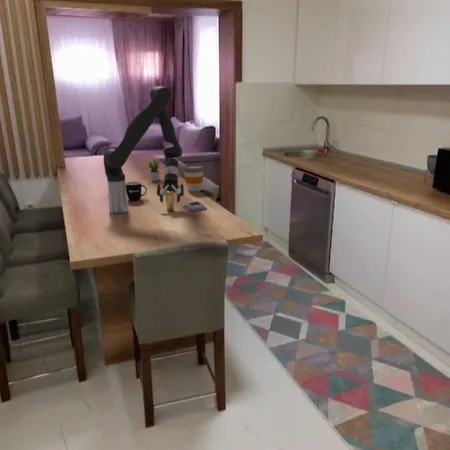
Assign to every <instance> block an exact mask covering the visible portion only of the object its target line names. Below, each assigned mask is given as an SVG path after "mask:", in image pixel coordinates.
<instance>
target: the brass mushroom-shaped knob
mask: <svg viewBox="0 0 450 450" xmlns="http://www.w3.org/2000/svg"><path fill="white" fill-rule="evenodd" d="M165 193H166V194H165V201H166V203H165V204H166V212H169V213H172V212H175V200H174V199H175V198H174V194H175V192H174V191H173V190H167V191H165Z"/></svg>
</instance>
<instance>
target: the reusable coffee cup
mask: <svg viewBox="0 0 450 450" xmlns="http://www.w3.org/2000/svg"><path fill="white" fill-rule="evenodd" d="M204 170H205V169H204V165H202V164H187V165H184V166H183V172H184V181H185V182H184V183H186V184H185V185H186V188H187V191H188V192H200V191H202V187H203V182H204Z"/></svg>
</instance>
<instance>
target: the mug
mask: <svg viewBox="0 0 450 450" xmlns="http://www.w3.org/2000/svg"><path fill="white" fill-rule="evenodd" d="M142 188H144V190H145V192H144V193H143V194H142ZM147 192H148V189H147V187H146V186H145V185H143V184H142V182H141V181H135V180H133V181H127V182H126V193H127V200H129V201H130V202H137V201H138V202H139V201H140V200H141V198H142V197H143V196H145V195H146V194H147Z"/></svg>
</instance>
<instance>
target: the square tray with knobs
mask: <svg viewBox="0 0 450 450" xmlns="http://www.w3.org/2000/svg"><path fill="white" fill-rule="evenodd" d="M182 208H183V209H184V210H186V211H188V212H190V213H192V212H199V211H204V210H207V209H208V207H206V206H205V204H204V203H202V202H201V201H198V200H197V201H191V202H190V201H189V202H185V203H184V205H182Z"/></svg>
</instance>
